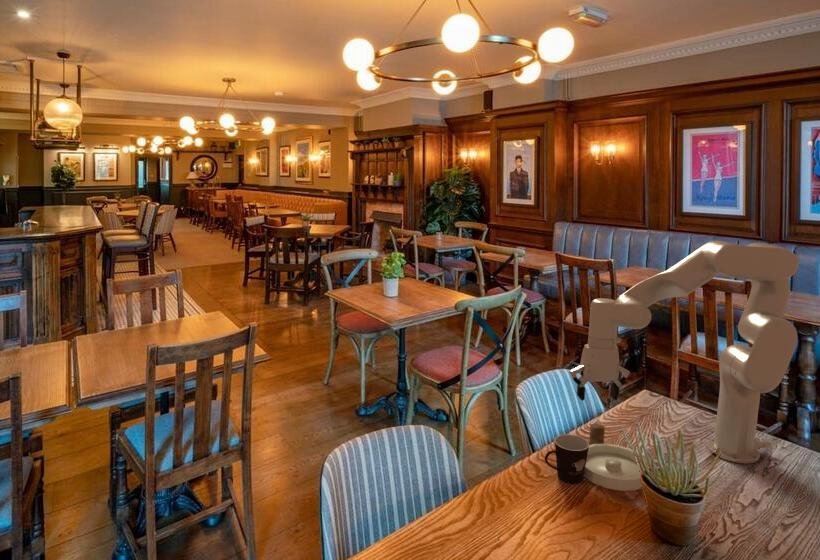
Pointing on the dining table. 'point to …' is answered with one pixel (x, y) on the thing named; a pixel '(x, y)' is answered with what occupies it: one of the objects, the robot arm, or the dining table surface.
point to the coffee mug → (570, 457)
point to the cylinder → (596, 434)
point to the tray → (612, 467)
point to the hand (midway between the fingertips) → (597, 398)
